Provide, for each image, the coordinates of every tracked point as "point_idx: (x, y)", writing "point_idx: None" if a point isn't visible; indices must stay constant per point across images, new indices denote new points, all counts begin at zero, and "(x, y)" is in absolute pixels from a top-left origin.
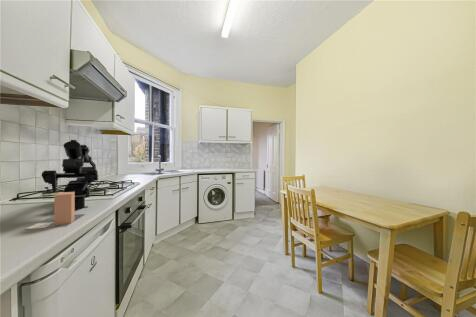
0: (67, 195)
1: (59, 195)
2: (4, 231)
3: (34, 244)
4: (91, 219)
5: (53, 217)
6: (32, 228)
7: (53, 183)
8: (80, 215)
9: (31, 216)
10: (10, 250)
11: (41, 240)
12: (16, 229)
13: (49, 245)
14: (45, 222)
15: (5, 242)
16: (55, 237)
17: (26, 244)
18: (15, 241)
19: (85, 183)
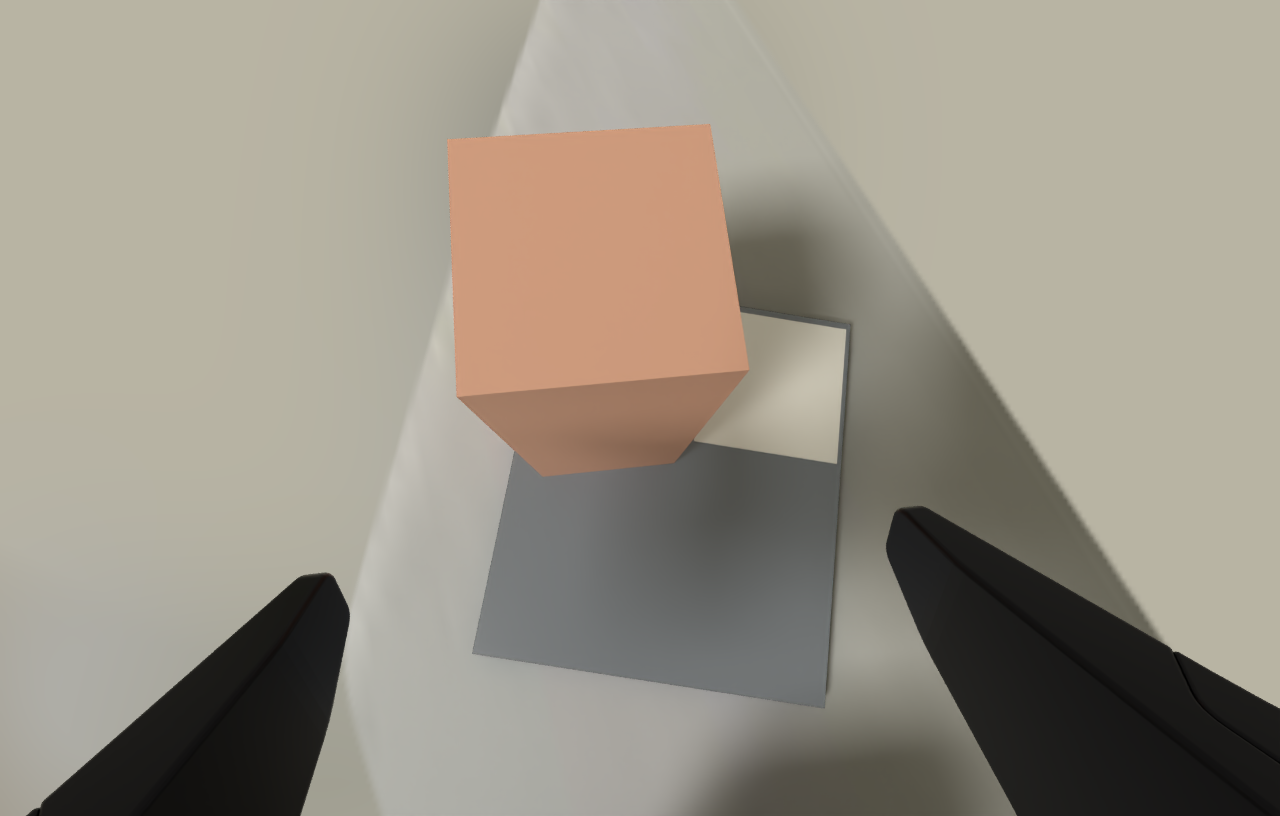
0: (514, 149)
1: (634, 135)
2: (1001, 399)
3: (644, 64)
4: (392, 474)
5: (786, 635)
6: (800, 321)
7: (1159, 680)
8: (519, 609)
9: None
10: (732, 32)
11: (632, 110)
12: (941, 417)
13: (549, 16)
14: (779, 466)
15: (839, 162)
16: (563, 127)
17: (691, 82)
18: (787, 156)
19: (97, 756)
